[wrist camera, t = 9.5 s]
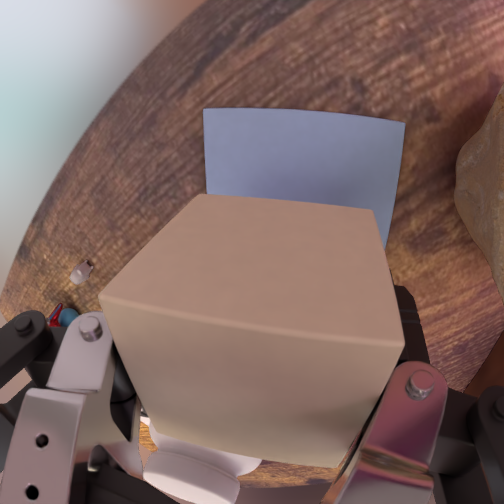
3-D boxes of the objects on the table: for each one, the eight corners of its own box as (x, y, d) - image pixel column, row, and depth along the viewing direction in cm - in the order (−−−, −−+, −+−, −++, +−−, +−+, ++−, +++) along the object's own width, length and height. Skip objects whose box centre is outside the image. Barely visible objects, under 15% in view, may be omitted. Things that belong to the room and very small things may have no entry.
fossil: (518, 354, 9) (507, 170, 5) (448, 325, 13) (372, 165, 9) (559, 212, 11) (527, 43, 6) (502, 203, 15) (450, 52, 10)
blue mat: (205, 108, 14) (202, 108, 13) (403, 122, 12) (405, 123, 11) (214, 270, 18) (212, 274, 18) (373, 290, 16) (374, 294, 16)
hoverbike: (39, 333, 29) (11, 365, 24) (59, 283, 23) (18, 325, 18) (71, 363, 30) (46, 398, 25) (102, 325, 24) (66, 371, 19)
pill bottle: (180, 323, 21) (104, 458, 12) (251, 292, 18) (180, 470, 9) (234, 377, 23) (188, 506, 14) (305, 357, 20) (274, 516, 11)
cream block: (198, 192, 9) (94, 295, 5) (373, 208, 8) (407, 344, 4) (210, 320, 12) (155, 433, 7) (344, 339, 11) (337, 469, 6)
